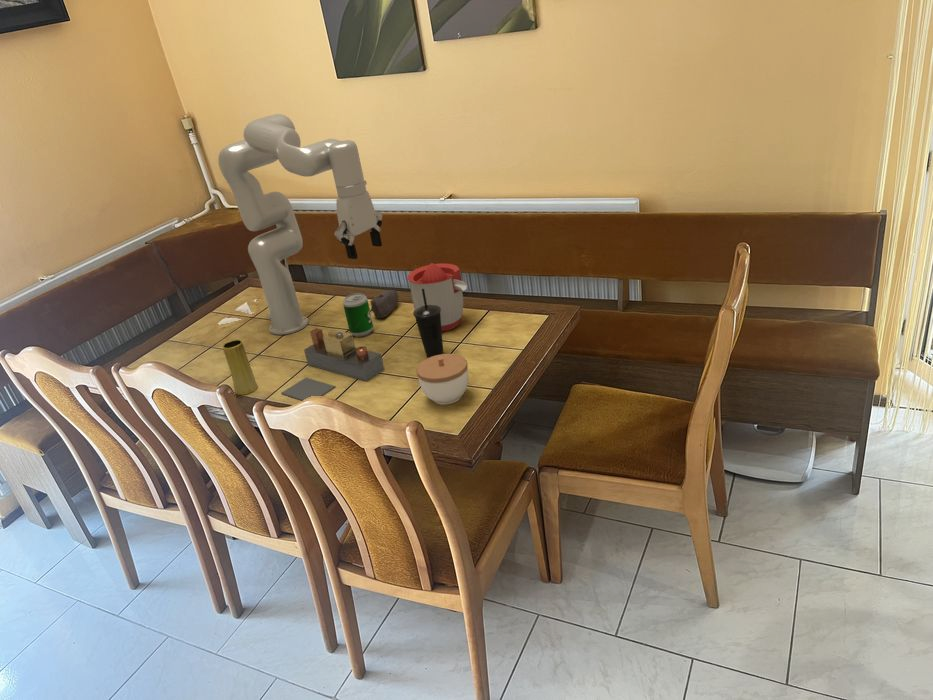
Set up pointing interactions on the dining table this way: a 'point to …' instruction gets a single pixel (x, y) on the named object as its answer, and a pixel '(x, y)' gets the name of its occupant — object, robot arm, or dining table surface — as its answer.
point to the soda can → (358, 314)
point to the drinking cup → (429, 327)
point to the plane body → (343, 359)
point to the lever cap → (339, 343)
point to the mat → (308, 389)
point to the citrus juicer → (439, 291)
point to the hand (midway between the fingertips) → (365, 252)
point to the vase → (239, 367)
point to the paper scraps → (242, 308)
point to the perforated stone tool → (384, 303)
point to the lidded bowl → (443, 378)
